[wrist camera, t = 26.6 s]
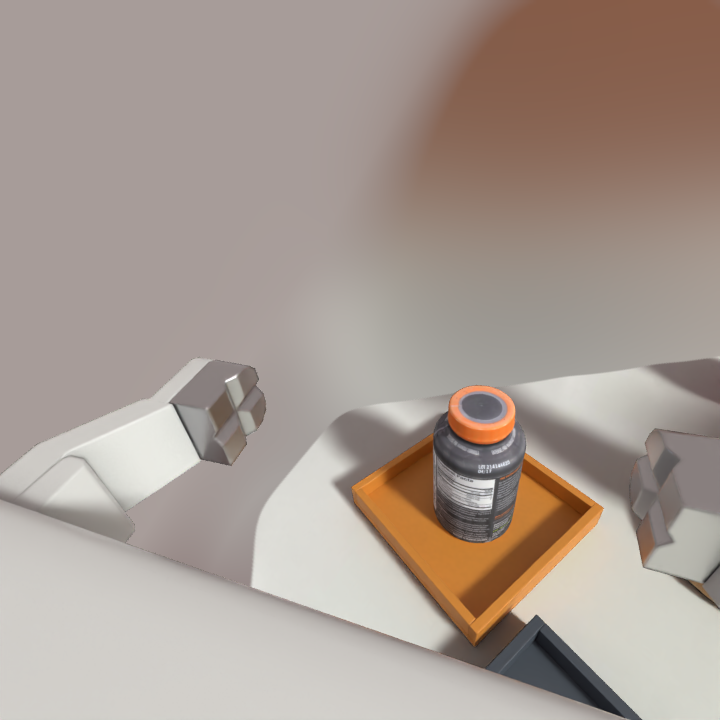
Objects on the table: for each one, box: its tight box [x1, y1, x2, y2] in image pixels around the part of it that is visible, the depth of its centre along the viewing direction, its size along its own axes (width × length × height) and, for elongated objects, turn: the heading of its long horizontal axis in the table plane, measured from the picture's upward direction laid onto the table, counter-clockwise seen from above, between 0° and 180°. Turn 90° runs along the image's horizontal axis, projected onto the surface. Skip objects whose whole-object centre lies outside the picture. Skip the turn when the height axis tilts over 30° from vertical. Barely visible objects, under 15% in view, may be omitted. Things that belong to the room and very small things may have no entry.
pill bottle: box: [433, 385, 526, 543], centre depth 29 cm, size 6×6×11 cm
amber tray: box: [351, 433, 604, 647], centre depth 32 cm, size 13×13×2 cm
